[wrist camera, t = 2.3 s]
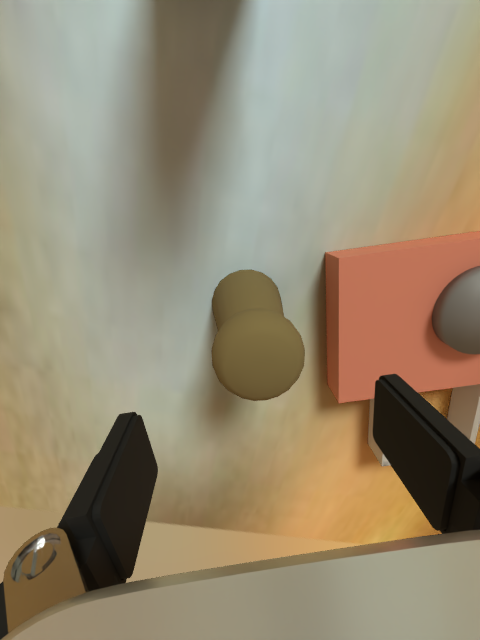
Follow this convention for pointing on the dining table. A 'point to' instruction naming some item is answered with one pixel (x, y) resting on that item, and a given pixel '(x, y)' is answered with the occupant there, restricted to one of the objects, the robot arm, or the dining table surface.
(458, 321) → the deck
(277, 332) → the cork
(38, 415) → the dining table surface
